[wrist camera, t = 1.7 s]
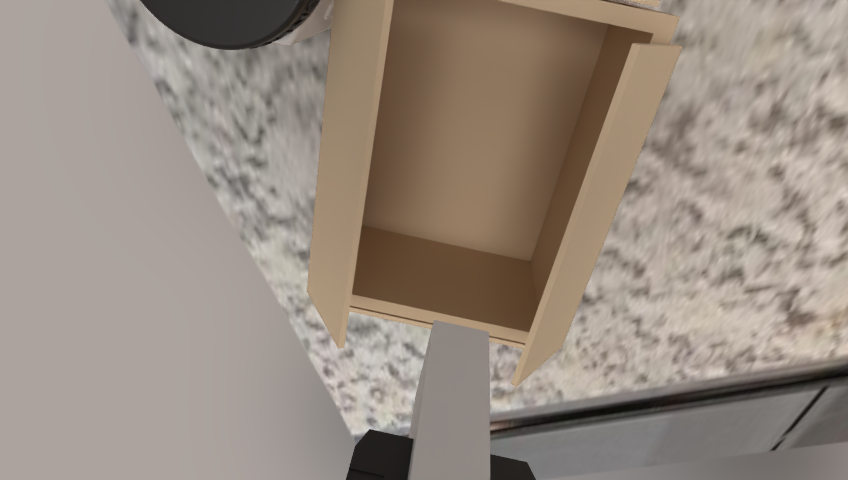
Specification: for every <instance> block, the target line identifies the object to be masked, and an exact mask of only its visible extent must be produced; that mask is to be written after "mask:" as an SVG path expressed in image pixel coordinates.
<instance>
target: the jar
mask: <svg viewBox="0 0 848 480" xmlns="http://www.w3.org/2000/svg"><path fill="white" fill-rule="evenodd" d="M140 1H141V2H142V3H143V4H144V5H145V7H146V8H147V9H148V10H149V11H150V12H151V13H152V14H153V15H154V16H155V17H156V18H157V19H158V20H159V21H161V22H162V23H163V24H164V25H165V26H167V27H168V28H169V29H171V30H172V31H174V32H175V33H177V34H179V35H180V36H182V37H184V38H186V39H188V40H190V41H192V42H195V43H197V44H200V45H203V46H207V47H211V48H216V49H223V50H240V49H247V48H257V47H261V46H264V45H267V44H270V43H276V44H282V45H292V44H294V43H297V42H299V41H302V40H304V39H307V38H309V37H311V36H314V35H316V34H319V33H321V32H324V31H326V30H329V29H331V26H332V15H333V4H334V0H140Z"/></svg>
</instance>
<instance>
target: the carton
mask: <svg viewBox="0 0 848 480" xmlns="http://www.w3.org/2000/svg"><path fill="white" fill-rule="evenodd" d="M628 1H632V2H637V3H642V4H646V5H651V6H656V7H658V4H659V2H660V0H628ZM679 19H680V17H677V16H674V15H670V14H666V13H663V12H659V11H655V10H652V9H648V8H644V7H640V6H637V5H633V4H629V3H625V2H620V1H615V0H394V3H393V9H392V16H391V23H390V30H389V37H388V44H387V51H386V58H385V65H384V72H383V79H382V86H381V93H380V100H379V107H378V114H377V121H376V128H375V135H374V142H373V149H372V156H371V163H370V170H369V177H368V184H367V191H366V198H365V205H364V212H363V219H362V226H361V233H360V240H359V247H358V254H357V261H356V268H355V275H354V282H353V288H352V295H351V302H350V309H349V311H350V312H355V313H360V314H364V315H369V316H373V317H378V318H383V319H387V320H392V321H397V322H401V323H406V324H411V325H415V326H420V327H424V328H429V329H432V326H433V322H434V320H437V321H442V322H447V323H451V324H456V325H460V326H465V327H470V328H474V329H479V330H483V331H488V332H489V342H494V343H499V344H503V345H508V346H512V347H517V348H522V349H524V346H525V343H526V340H527V338H528V335H529V332H530V329H531V326H532V324H533V321H534V318H535V315H536V312H537V310H538V307H539V304H540V301H541V298H542V295H543V293H544V290H545V287H546V284H547V281H548V279H549V276H550V273H551V270H552V267H553V265H554V262H555V259H556V256H557V253H558V251H559V248H560V245H561V242H562V239H563V237H564V234H565V231H566V228H567V225H568V223H569V220H570V217H571V214H572V211H573V209H574V206H575V203H576V200H577V197H578V195H579V192H580V189H581V186H582V183H583V181H584V178H585V175H586V172H587V169H588V166H589V164H590V161H591V158H592V155H593V152H594V150H595V147H596V144H597V141H598V138H599V136H600V133H601V130H602V127H603V124H604V122H605V119H606V116H607V113H608V110H609V108H610V105H611V102H612V99H613V96H614V94H615V91H616V88H617V85H618V82H619V80H620V77H621V74H622V71H623V68H624V66H625V63H626V60H627V57H628V54H629V51H630V49H631V46H632V43H641V44H670V42H671V39H672V37H673V34H674V32H675V29H676V26H677V24H678V21H679Z"/></svg>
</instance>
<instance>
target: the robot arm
mask: <svg viewBox="0 0 848 480" xmlns="http://www.w3.org/2000/svg"><path fill="white" fill-rule="evenodd" d="M346 480H536V479H535V477H534V475H533V473H532V471H531V469H530V467H529V465H528V463H527V462H523V461H519V460H514V459H510V458H505V457H500V456H496V455H491V454H490V380H489V332H488V331H483V330H479V329H474V328H470V327H465V326H460V325H456V324H451V323H447V322H442V321H437V320H434V322H433V326H432V330H431V334H430V338H429V342H428V346H427V351H426V355H425V359H424V363H423V367H422V371H421V375H420V380H419V384H418V388H417V392H416V397H415V403H414V409H413V415H412V421H411V427H410V433H409V438H407V437H403V436H398V435H394V434H389V433H384V432H380V431H375V430H371V429H369V431H368V432H367V433H366V434H365V435H364V436H363V438H362V439H361V440H360V441H359V442H358V443H357V445H356V446H355V449H354V452H353V456H352V460H351V463H350V467H349V471H348V474H347V478H346Z"/></svg>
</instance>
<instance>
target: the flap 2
mask: <svg viewBox="0 0 848 480" xmlns="http://www.w3.org/2000/svg"><path fill="white" fill-rule="evenodd" d="M682 47H683V46H679V45H673V44H641V43H632V46H631V49H630V51H629V54H628V57H627V60H626V63H625V66H624V68H623V71H622V74H621V77H620V80H619V82H618V85H617V88H616V91H615V94H614V96H613V99H612V102H611V105H610V108H609V110H608V113H607V116H606V119H605V122H604V124H603V127H602V130H601V133H600V136H599V138H598V141H597V144H596V147H595V150H594V152H593V155H592V158H591V161H590V164H589V166H588V169H587V172H586V175H585V178H584V181H583V183H582V186H581V189H580V192H579V195H578V197H577V200H576V203H575V206H574V209H573V211H572V214H571V217H570V220H569V223H568V225H567V228H566V231H565V234H564V237H563V239H562V242H561V245H560V248H559V251H558V253H557V256H556V259H555V262H554V265H553V267H552V270H551V273H550V276H549V279H548V281H547V284H546V287H545V290H544V293H543V295H542V298H541V301H540V304H539V307H538V310H537V312H536V315H535V318H534V321H533V324H532V326H531V329H530V332H529V335H528V338H527V340H526V343H525V346H524V349H523V352H522V354H521V357H520V360H519V363H518V366H517V368H516V371H515V374H514V377H513V380H512V382H511V384H512V385H514V386H515V387H517V386H518V385H519V384H520V383H521V382H523V381H524V380H525V379H526V378H527V377H528V376H529V375H530V374H532V373H533V372H534V371H535V370H536V369H537V368H538V367H540V366H541V365H542V364H543V363H544V362H545V361H546V360H547V359H549V358H550V357H551V356H552V355H553V354H554V353H555V352H556V351H558V350H559V349H560V348H561V347H562V346H563V343H564V341H565V338H566V336H567V333H568V331H569V328H570V326H571V323H572V321H573V319H574V316H575V314H576V311H577V309H578V306H579V304H580V301H581V299H582V296H583V294H584V291H585V289H586V286H587V284H588V281H589V279H590V276H591V274H592V271H593V269H594V266H595V264H596V261H597V259H598V256H599V254H600V251H601V249H602V246H603V244H604V241H605V239H606V236H607V234H608V231H609V229H610V226H611V224H612V221H613V219H614V216H615V214H616V211H617V209H618V206H619V204H620V201H621V199H622V196H623V194H624V191H625V189H626V186H627V184H628V182H629V179H630V177H631V174H632V172H633V169H634V167H635V164H636V162H637V159H638V157H639V154H640V152H641V149H642V147H643V144H644V142H645V139H646V137H647V134H648V132H649V129H650V127H651V124H652V122H653V119H654V117H655V114H656V112H657V109H658V107H659V104H660V102H661V99H662V97H663V94H664V92H665V89H666V87H667V84H668V82H669V79H670V77H671V74H672V72H673V69H674V67H675V64H676V62H677V59H678V57H679V54H680V52H681V49H682Z"/></svg>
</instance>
